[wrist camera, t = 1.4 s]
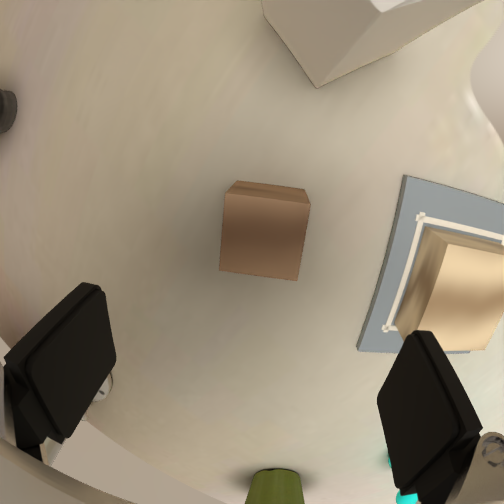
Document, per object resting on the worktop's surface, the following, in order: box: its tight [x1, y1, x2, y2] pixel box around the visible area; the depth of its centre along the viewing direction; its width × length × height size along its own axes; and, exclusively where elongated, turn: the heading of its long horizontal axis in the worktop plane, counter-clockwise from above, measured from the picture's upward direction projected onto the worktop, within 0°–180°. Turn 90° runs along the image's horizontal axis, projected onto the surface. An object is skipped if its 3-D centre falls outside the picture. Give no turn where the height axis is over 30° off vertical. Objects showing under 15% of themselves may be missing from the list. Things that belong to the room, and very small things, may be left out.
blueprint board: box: [356, 175, 504, 354], centre depth 23 cm, size 16×14×1 cm
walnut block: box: [219, 181, 311, 281], centre depth 21 cm, size 5×5×5 cm
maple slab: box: [394, 226, 504, 351], centre depth 21 cm, size 9×9×4 cm
